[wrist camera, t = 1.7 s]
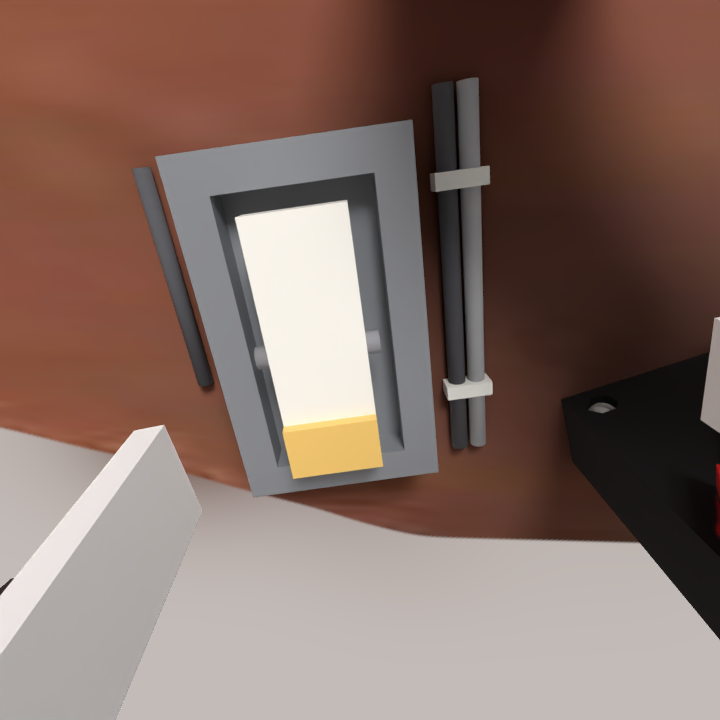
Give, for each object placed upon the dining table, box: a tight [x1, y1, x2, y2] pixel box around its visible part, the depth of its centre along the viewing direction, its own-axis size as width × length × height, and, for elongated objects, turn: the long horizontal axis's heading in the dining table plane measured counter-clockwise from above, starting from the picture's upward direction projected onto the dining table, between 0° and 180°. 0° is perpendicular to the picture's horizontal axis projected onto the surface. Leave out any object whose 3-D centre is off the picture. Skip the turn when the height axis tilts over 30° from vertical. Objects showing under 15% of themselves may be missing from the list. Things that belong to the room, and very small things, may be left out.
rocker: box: [235, 200, 383, 479], centre depth 22 cm, size 14×6×2 cm, turn 8°
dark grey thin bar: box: [132, 167, 213, 387], centre depth 28 cm, size 14×1×1 cm, turn 8°
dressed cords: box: [430, 78, 493, 449], centre depth 29 cm, size 24×3×2 cm, turn 8°
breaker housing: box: [155, 120, 439, 497], centre depth 27 cm, size 20×12×6 cm, turn 8°
